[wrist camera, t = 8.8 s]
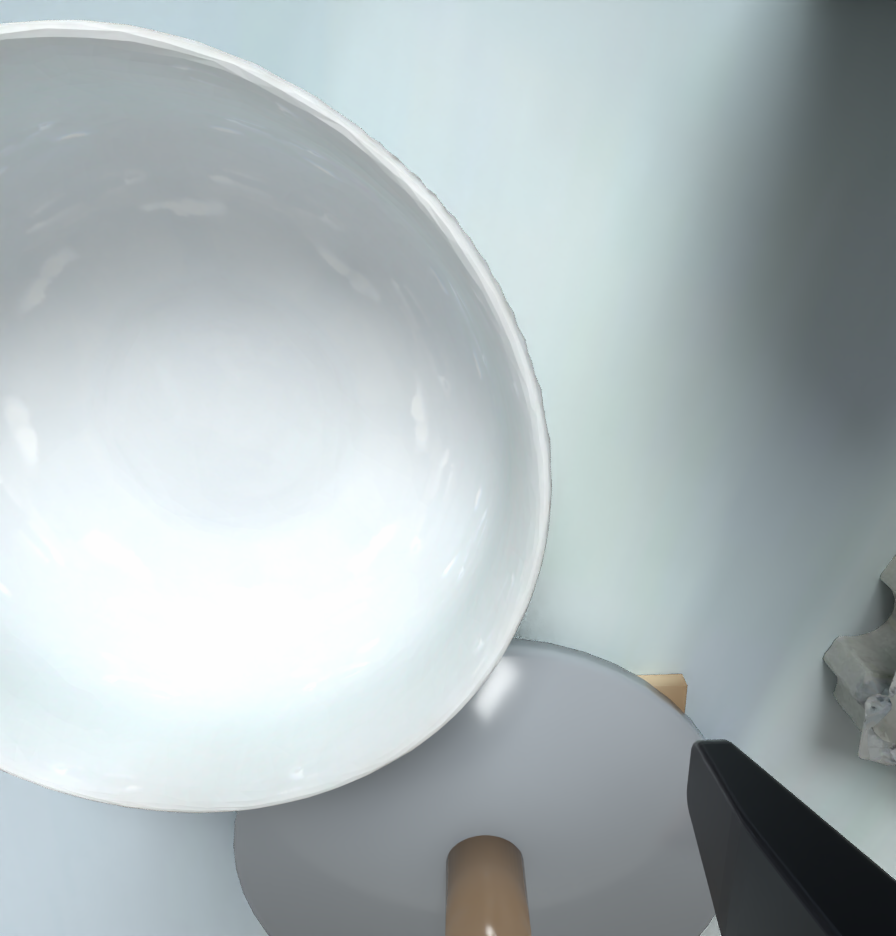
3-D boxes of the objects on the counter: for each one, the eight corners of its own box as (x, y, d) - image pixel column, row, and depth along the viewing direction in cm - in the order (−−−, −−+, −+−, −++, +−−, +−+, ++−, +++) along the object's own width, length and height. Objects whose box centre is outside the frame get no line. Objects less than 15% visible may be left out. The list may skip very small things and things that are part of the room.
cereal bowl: (613, 514, 22) (683, 653, 15) (181, 714, 25) (83, 903, 18) (325, -66, 16) (239, -238, 10) (-186, 281, 19) (-515, 328, 13)
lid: (756, 629, 23) (836, 743, 18) (703, 992, 29) (750, 1144, 24) (203, 645, 23) (140, 761, 18) (274, 1000, 30) (241, 1151, 25)
